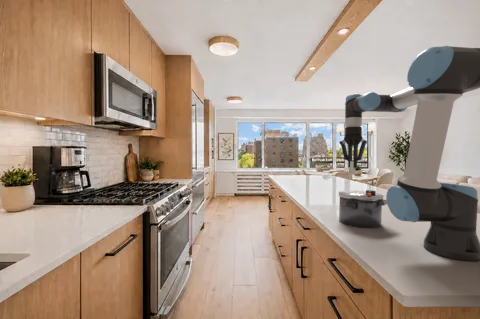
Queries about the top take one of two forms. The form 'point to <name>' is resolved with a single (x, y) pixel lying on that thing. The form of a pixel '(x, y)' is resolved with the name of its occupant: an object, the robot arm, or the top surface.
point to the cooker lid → (361, 195)
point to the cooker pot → (361, 212)
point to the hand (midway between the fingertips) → (352, 174)
